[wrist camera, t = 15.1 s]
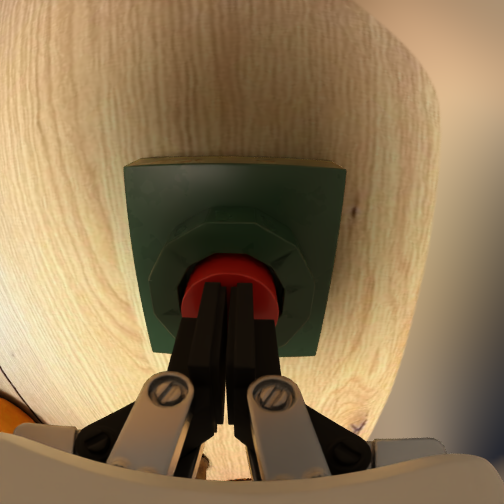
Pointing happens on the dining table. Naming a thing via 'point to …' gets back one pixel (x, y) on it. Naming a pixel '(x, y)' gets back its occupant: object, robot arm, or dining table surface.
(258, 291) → the button
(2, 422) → the fruit
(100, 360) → the dining table surface
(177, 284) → the box
